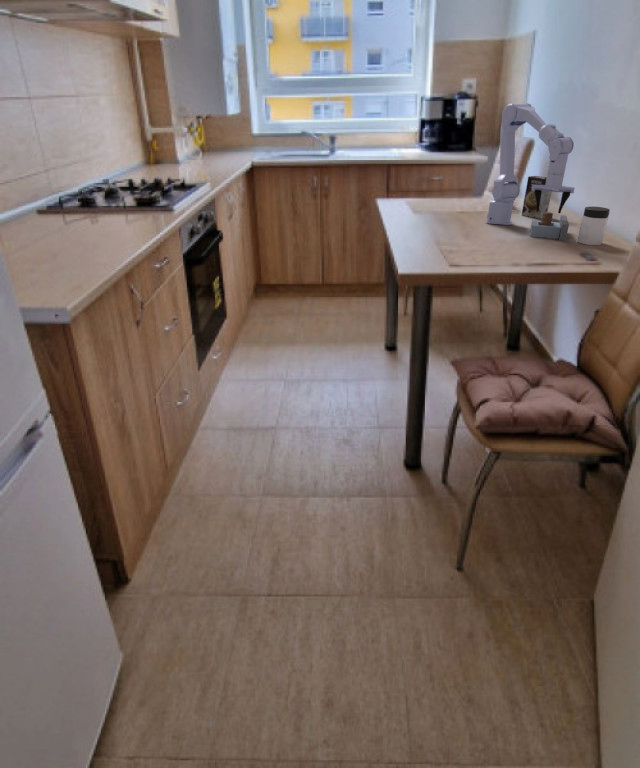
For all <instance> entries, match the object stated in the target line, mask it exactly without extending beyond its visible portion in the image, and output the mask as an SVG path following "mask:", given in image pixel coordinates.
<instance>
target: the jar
mask: <svg viewBox="0 0 640 768" xmlns="http://www.w3.org/2000/svg"><path fill="white" fill-rule="evenodd" d="M610 212H611V211H610V209H609V207H603V206H586V207H585V208H584V211H583V215H582V217H581V222H580V225H579V230H578V231H579V232H578V235H577V239H576V242H577V243H580V244H583V245H586V246H601V245H602V244H603V241H604V238H605V233H606V230H607V229H606V228H607V226H608V225H607V224H608V221H609V216H610Z"/></svg>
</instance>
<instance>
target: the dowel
mask: <svg viewBox="0 0 640 768" xmlns="http://www.w3.org/2000/svg"><path fill="white" fill-rule="evenodd" d="M553 214H554V213H553V212H543V215H542V218H541V219H540V221H541V225H546V226H551V222H553V216H554V215H553Z"/></svg>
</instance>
